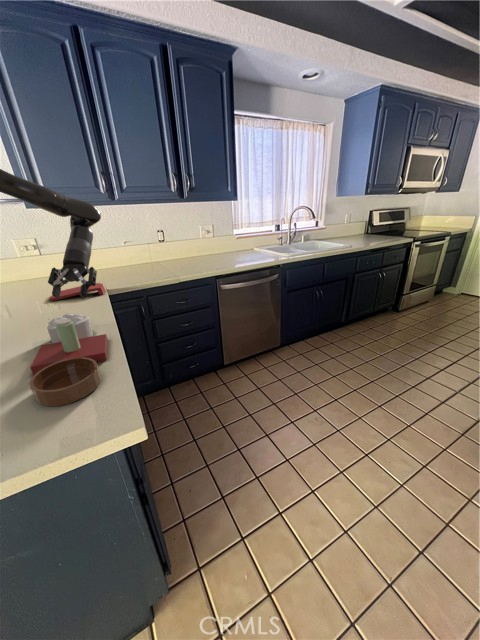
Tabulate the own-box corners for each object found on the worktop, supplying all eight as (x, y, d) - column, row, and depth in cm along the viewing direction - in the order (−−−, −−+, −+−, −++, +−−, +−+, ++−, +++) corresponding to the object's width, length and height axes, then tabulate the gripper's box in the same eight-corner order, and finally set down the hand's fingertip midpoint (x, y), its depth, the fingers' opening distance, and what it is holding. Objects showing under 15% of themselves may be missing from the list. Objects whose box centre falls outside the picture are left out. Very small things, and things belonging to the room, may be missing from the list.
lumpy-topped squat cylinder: (54, 336, 101) (47, 315, 98) (92, 328, 107) (87, 309, 103) (52, 348, 93) (44, 326, 89) (93, 339, 99) (87, 318, 95)
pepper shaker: (62, 353, 84) (53, 325, 80) (65, 346, 88) (56, 319, 84) (79, 350, 86) (71, 322, 82) (81, 343, 90) (73, 317, 86)
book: (33, 375, 79) (29, 367, 78) (43, 352, 90) (40, 345, 89) (106, 360, 86) (104, 352, 85) (107, 341, 98) (106, 333, 96)
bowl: (28, 415, 64) (21, 399, 62) (43, 378, 77) (38, 364, 75) (99, 397, 70) (95, 382, 68) (102, 366, 83) (98, 352, 81)
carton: (53, 307, 138) (102, 295, 144) (48, 299, 136) (99, 286, 142) (59, 300, 149) (105, 288, 154) (55, 292, 146) (102, 280, 152)
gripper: (50, 248, 88) (38, 292, 82) (93, 247, 88) (85, 291, 83) (63, 260, 95) (54, 302, 89) (103, 260, 95) (96, 301, 90)
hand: (69, 296), depth 86 cm, fingers open, 8 cm apart
